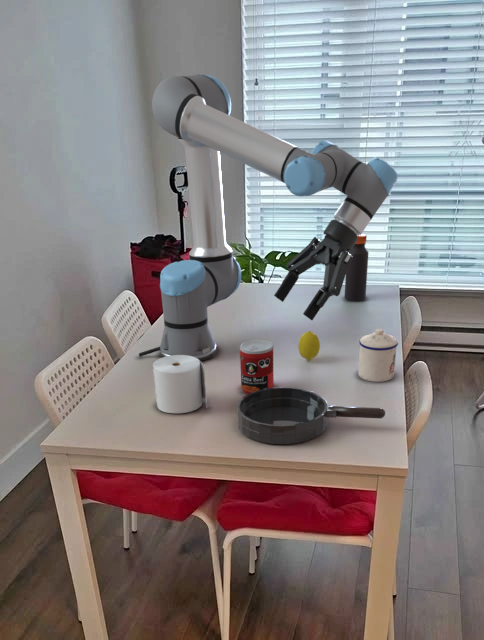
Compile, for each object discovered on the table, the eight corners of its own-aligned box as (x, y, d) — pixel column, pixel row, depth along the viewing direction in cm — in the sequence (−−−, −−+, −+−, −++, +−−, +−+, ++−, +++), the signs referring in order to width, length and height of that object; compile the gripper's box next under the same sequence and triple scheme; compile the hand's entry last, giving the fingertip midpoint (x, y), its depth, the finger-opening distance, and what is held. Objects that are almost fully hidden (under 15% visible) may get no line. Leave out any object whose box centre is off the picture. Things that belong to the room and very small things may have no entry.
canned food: (236, 393, 160) (234, 349, 154) (248, 380, 166) (247, 337, 160) (266, 397, 157) (266, 353, 151) (277, 384, 163) (277, 341, 158)
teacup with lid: (397, 382, 162) (402, 335, 156) (359, 383, 162) (362, 336, 156) (389, 363, 172) (393, 319, 166) (353, 364, 173) (356, 320, 166)
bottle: (344, 301, 218) (347, 237, 207) (344, 295, 223) (347, 232, 213) (365, 302, 217) (369, 237, 206) (365, 295, 222) (369, 232, 212)
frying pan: (230, 443, 139) (229, 423, 136) (245, 403, 155) (244, 385, 152) (324, 447, 136) (325, 428, 133) (328, 406, 152) (329, 388, 149)
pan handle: (324, 418, 141) (324, 409, 140) (325, 412, 144) (325, 403, 143) (385, 421, 139) (385, 411, 138) (384, 415, 142) (385, 405, 141)
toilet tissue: (159, 394, 160) (155, 355, 155) (210, 393, 160) (207, 354, 155) (153, 414, 151) (149, 373, 146) (206, 413, 151) (204, 372, 146)
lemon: (318, 365, 173) (319, 335, 169) (296, 364, 174) (297, 334, 170) (320, 357, 178) (321, 327, 173) (299, 356, 179) (299, 327, 174)
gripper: (388, 250, 146) (331, 333, 151) (326, 224, 164) (277, 299, 169) (368, 231, 141) (310, 317, 146) (307, 206, 160) (256, 284, 164)
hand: (292, 307), depth 157 cm, fingers open, 13 cm apart
